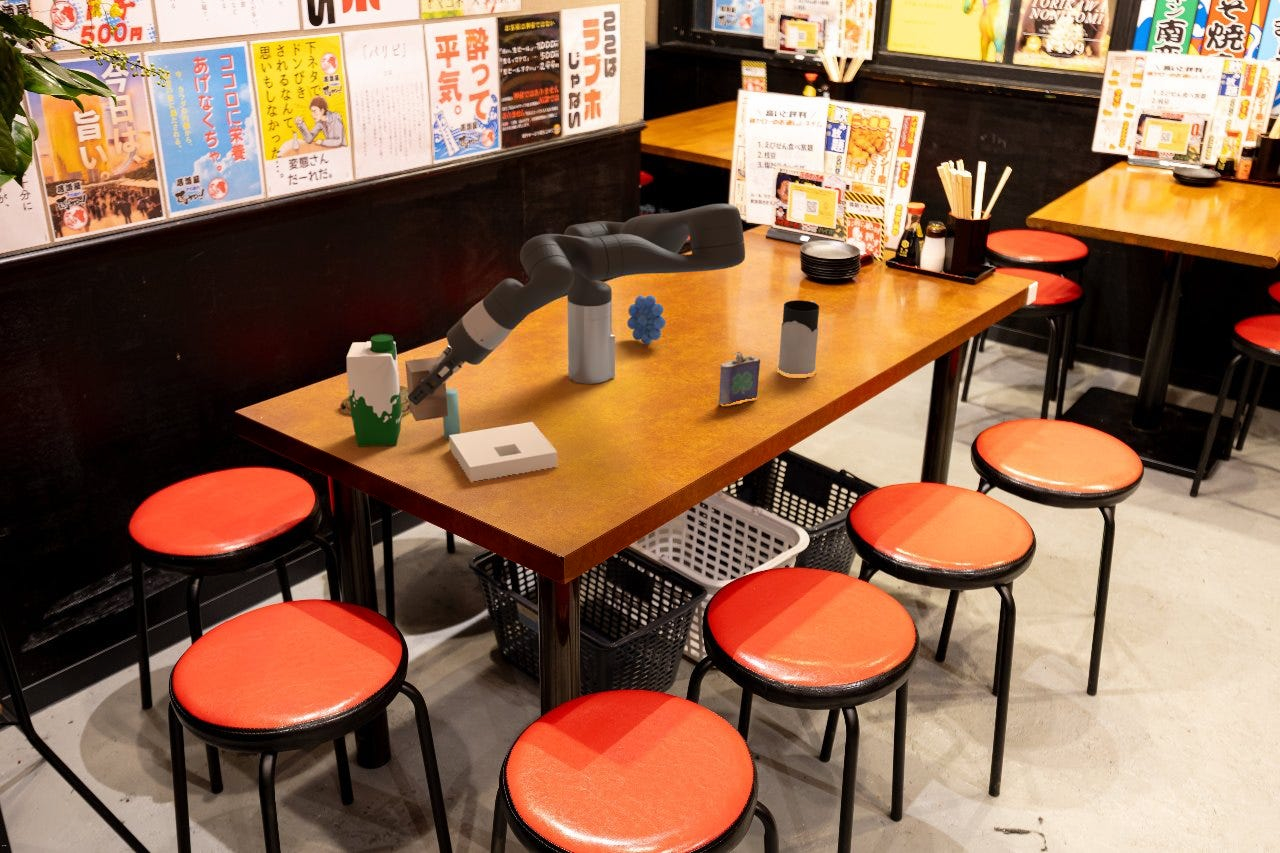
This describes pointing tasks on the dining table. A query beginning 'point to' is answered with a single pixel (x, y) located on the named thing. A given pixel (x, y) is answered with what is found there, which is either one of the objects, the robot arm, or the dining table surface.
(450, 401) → the peg
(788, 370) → the glass holder
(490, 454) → the board
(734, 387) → the flask
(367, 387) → the milk carton
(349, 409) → the pastry
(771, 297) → the dining table surface
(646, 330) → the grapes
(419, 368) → the grey brown block
